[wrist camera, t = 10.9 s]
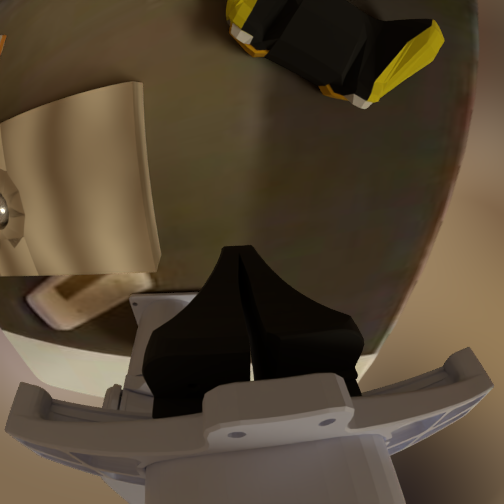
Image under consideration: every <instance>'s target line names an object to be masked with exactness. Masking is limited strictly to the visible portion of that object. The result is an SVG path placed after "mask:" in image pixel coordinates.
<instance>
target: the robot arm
mask: <svg viewBox="0 0 504 504" xmlns="http://www.w3.org/2000/svg"><path fill="white" fill-rule="evenodd" d="M129 301H130V304H131V307H132V310H133V313H134V316H135V319H136V321H137V324H138V329H137V333H136V337H135V342H134V346H133V350H132V355H131V359H130V364H129V369H128V374H127V375H126V378H125V383H124V388H123V390H121V387H122V386H120V385H118V384H114V386H113V387H110V388H109V389H107V391H106V394H105V398H104V402H103V406H102V408H99V407H92V406H86V405H80V404H75V403H70V402H65V401H60V400H56V399H52V397H51V396H50V394H49V393H48V392H47V391H45V390H44V389H43V388H41V387H39V386H35V385H31V384H28V383H24V382H20V385H19V387H18V390H17V393H16V395H15V398H14V401H13V404H12V407H11V410H10V413H9V416H8V420H7V423H6V426H5V431H6V433H8V434H9V435H10V436H12V437H13V438H14V439H16V440H17V441H18V442H20V443H21V444H23V445H24V446H25V447H27V448H28V449H30V450H31V451H33V452H34V453H36V454H37V455H39V456H41V457H44V458H46V459H49V460H51V461H54V462H57V463H60V464H63V465H66V466H69V467H72V468H75V469H78V470H81V471H84V472H87V473H90V474H94V475H98V476H101V478H102V480H103V481H104V482H105V483H106V484H107V485H109V486H110V487H111V488H112V489H113V490H114V491H116V493H117V494H119V495H120V496H121V497H122V498H123V499H125V500H126V501H127V502H128V503H129V504H406V503H405V500H404V496H403V493H402V490H401V487H400V484H399V481H398V478H397V475H396V472H395V469H394V467H393V464H392V461H391V458H390V455H392V454H395V453H397V452H399V451H401V450H403V449H405V448H407V447H410V446H412V445H413V444H415V443H417V442H419V441H421V440H423V439H425V438H427V437H429V436H430V435H432V434H434V433H436V432H438V431H440V430H441V429H443V428H445V427H447V426H448V425H450V424H452V423H453V422H455V421H457V420H458V419H460V418H462V417H463V416H465V415H466V414H467V413H468V412H469V411H470V410H471V409H472V408H474V406H476V405H477V404H478V403H479V402H480V401H481V400H482V399H483V398H484V397H485V396H486V395H487V394H488V393H489V392H490V391H491V390H492V388H493V387H494V384H493V383H492V381H491V379H490V378H489V376H488V375H487V373H486V371H485V370H484V368H483V367H482V365H481V363H480V362H479V360H478V359H477V358H476V356H475V354H474V353H473V351H472V350H471V349H470V347H467V348H465V349H462V350H460V351H458V352H456V353H454V354H452V355H451V356H450V357H449V358H448V359H447V360H446V362H445V363H444V365H443V366H442V367H440V368H437V369H435V370H432V371H430V372H427V373H424V374H422V375H419V376H416V377H413V378H410V379H407V380H404V381H401V382H398V383H395V384H392V385H388V386H385V387H382V388H378V389H374V390H371V391H367V392H363V393H361V391H360V389H359V386H358V384H357V381H356V379H357V377H358V374H357V371H356V369H355V366H356V363H357V361H358V359H359V357H360V355H361V353H362V351H363V347H364V339H363V337H362V335H361V333H360V331H359V329H358V327H357V325H356V324H355V322H354V321H353V319H352V318H351V316H349V315H347V314H344V313H341V312H338V311H335V310H333V309H330V308H328V307H326V306H323V305H321V304H319V303H317V302H315V301H313V300H311V299H310V298H308V297H306V296H305V295H303V294H301V293H300V292H298V291H297V290H295V289H294V288H292V287H291V286H290V285H288V284H287V283H286V282H284V281H283V280H282V279H281V278H280V277H279V276H278V275H277V274H276V273H275V272H274V271H273V270H272V269H271V268H270V267H269V266H268V265H267V264H266V263H265V261H264V260H263V259H262V258H261V257H260V255H259V254H258V253H257V251H256V250H255V249H254V247H253V246H252V245H245V246H225V247H223V248H222V251H221V254H220V257H219V260H218V262H217V264H216V266H215V268H214V270H213V272H212V274H211V275H210V277H209V278H208V280H207V282H206V283H205V285H204V286H203V287H202V289H201V290H200V291H199V292H187V293H157V294H131V295H130V297H129ZM134 302H135V303H137V304H135V303H134ZM250 349H251V357H252V366H253V374H254V381H250Z"/></svg>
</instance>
